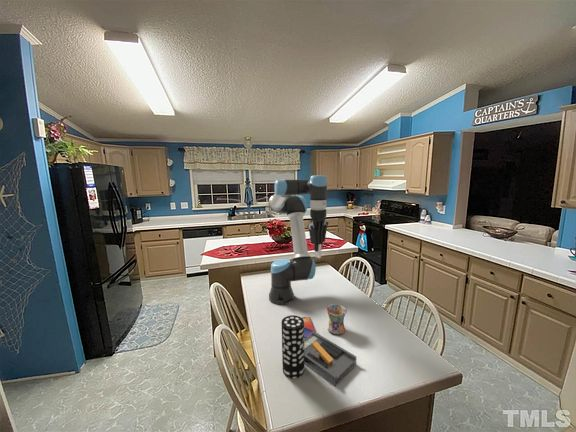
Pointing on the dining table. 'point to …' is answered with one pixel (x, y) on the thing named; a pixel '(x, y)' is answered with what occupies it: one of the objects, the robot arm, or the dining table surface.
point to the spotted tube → (293, 346)
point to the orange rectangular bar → (322, 352)
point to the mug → (336, 318)
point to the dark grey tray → (312, 359)
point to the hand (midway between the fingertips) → (317, 257)
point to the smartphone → (308, 326)
